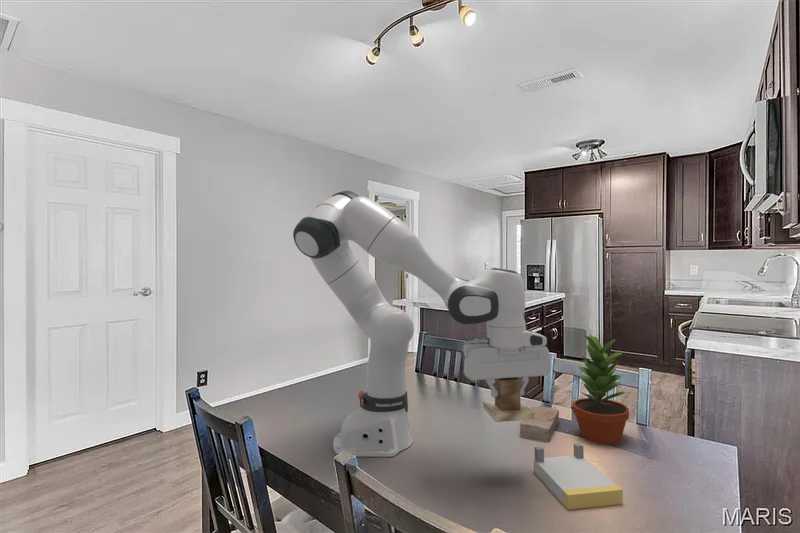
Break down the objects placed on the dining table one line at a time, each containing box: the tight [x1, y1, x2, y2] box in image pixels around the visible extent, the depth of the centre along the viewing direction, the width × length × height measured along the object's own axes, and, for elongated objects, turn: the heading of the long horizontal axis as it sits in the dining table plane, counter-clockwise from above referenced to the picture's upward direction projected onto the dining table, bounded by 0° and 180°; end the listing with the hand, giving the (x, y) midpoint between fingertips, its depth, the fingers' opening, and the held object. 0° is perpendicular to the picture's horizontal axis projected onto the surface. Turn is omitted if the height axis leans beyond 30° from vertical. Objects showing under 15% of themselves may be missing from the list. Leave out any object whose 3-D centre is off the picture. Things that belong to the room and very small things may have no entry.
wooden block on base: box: [482, 377, 534, 423], centre depth 100 cm, size 9×9×8 cm
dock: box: [533, 442, 624, 511], centre depth 96 cm, size 12×16×6 cm
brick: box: [519, 405, 560, 443], centre depth 127 cm, size 17×8×5 cm, turn 150°
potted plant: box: [572, 332, 630, 446], centre depth 121 cm, size 15×15×30 cm
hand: (507, 396), depth 100 cm, fingers closed on wooden block on base, 4 cm apart
